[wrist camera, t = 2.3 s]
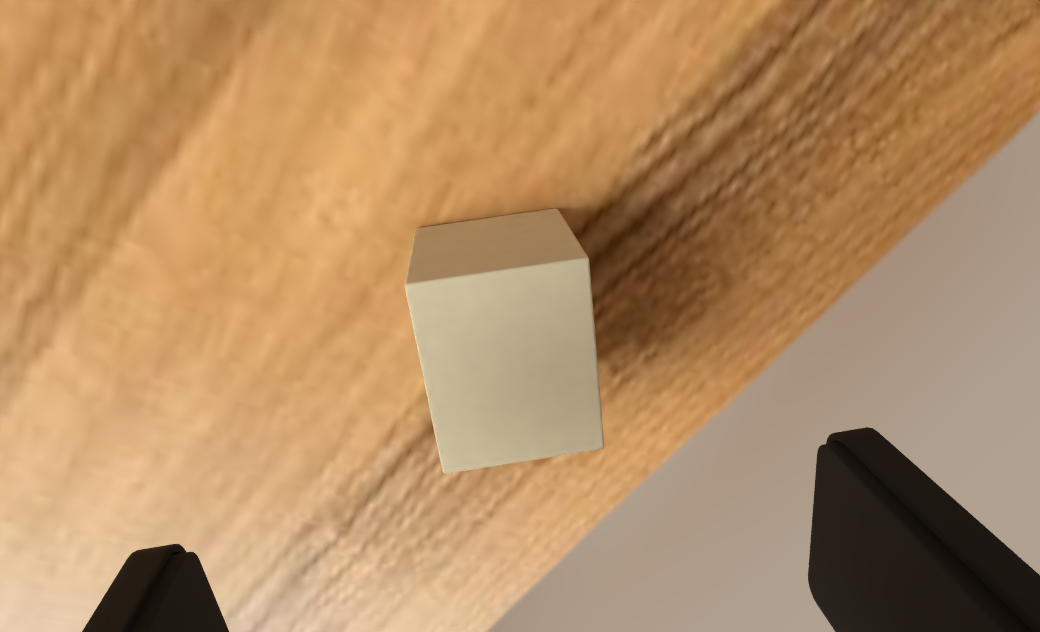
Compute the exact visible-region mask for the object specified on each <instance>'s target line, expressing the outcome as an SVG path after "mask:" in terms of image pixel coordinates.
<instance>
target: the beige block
mask: <svg viewBox="0 0 1040 632" xmlns="http://www.w3.org/2000/svg"><path fill="white" fill-rule="evenodd" d="M405 291H406V296H407V300H408V305H409V310H410V315H411V320H412V325H413V330H414V334H415V339H416V344H417V349H418V354H419V359H420V364H421V368H422V373H423V378H424V383H425V388H426V393H427V398H428V402H429V407H430V412H431V417H432V422H433V427H434V432H435V436H436V441H437V446H438V451H439V456H440V461H441V466H442V471H443V473H444V474H447V473H453V472H460V471H466V470H472V469H479V468H485V467H491V466H497V465H504V464H510V463H516V462H523V461H529V460H535V459H542V458H548V457H554V456H561V455H567V454H573V453H580V452H586V451H592V450H598V449H603V448H604V438H603V426H602V413H601V401H600V388H599V376H598V364H597V351H596V339H595V326H594V314H593V301H592V289H591V276H590V264H589V258H588V256H587V255H586V253H585V252H584V250H583V248H582V247H581V245H580V244H579V242H578V240H577V239H576V237H575V236H574V234H573V232H572V231H571V229H570V228H569V226H568V224H567V223H566V221H565V220H564V218H563V216H562V215H561V213H560V212H559V210H558V209H557V208H555V209H547V210H540V211H533V212H526V213H519V214H512V215H505V216H498V217H491V218H484V219H477V220H470V221H463V222H456V223H449V224H442V225H435V226H428V227H421V228H416V230H415V235H414V240H413V245H412V250H411V256H410V261H409V266H408V271H407V276H406V281H405Z"/></svg>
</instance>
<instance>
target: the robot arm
mask: <svg viewBox="0 0 1040 632" xmlns="http://www.w3.org/2000/svg"><path fill="white" fill-rule="evenodd" d="M809 558H810V559H809V571H808V581H809V587H810V590H811V592H812V595H813V598H814V600H815V601H816V603H817V605H818V606H819V608H820V609H821V611H822V612H823V614H824V615H825V617H826V618H827V619H828V621H829V623H830V624H831V626H832V627H833V629H834V630H835V632H1040V575H1039V574H1038V573H1036V572H1035V571H1034V570H1033V569H1032V568H1031V567H1030V566H1029V565H1027V564H1026V563H1025V562H1024V561H1023V560H1022V559H1021V558H1020V557H1018V556H1017V555H1016V554H1015V553H1014V552H1013V551H1012V550H1011V549H1009V548H1008V547H1007V546H1006V545H1005V544H1004V543H1003V542H1001V541H1000V540H999V539H998V538H997V537H996V536H995V535H994V534H992V533H991V532H990V531H989V530H988V529H987V528H986V527H985V526H983V525H982V524H981V523H980V522H979V521H978V520H977V519H976V518H974V517H973V516H972V515H971V514H970V513H969V512H968V511H967V510H965V509H964V508H963V507H962V506H961V505H960V504H959V503H957V502H956V501H955V500H954V499H953V498H952V497H951V496H950V495H948V494H947V493H946V492H945V491H944V490H943V489H942V488H941V487H939V486H938V485H937V484H936V483H935V482H934V481H933V480H931V479H930V478H929V477H928V476H927V475H926V474H925V473H924V472H923V471H921V470H920V469H919V468H918V467H917V466H916V465H914V464H913V463H912V462H911V461H910V460H909V459H908V458H907V457H905V456H904V455H903V454H902V453H901V452H900V451H899V450H898V449H896V448H895V447H894V446H893V445H892V444H891V443H890V442H889V441H888V440H886V439H885V438H884V437H883V436H882V435H880V433H878V432H877V431H876V430H874V429H873V428H868V427H867V428H861V429H855V430H849V431H844V432H837V433H833V434H831V435H830V436H829V437H828V439H827V443H826V444H825V445H821V446H820V447H819V449H818V454H817V464H816V478H815V491H814V505H813V517H812V531H811V544H810V557H809ZM82 632H229V630H228V628H227V625H226V623H225V621H224V618H223V616H222V613H221V611H220V609H219V606H218V604H217V601H216V599H215V596H214V594H213V592H212V589H211V587H210V584H209V582H208V580H207V577H206V575H205V572H204V570H203V567H202V565H201V563H200V560H199V558H198V556H197V555H196V554H195V553H194V552H187V553H186V551H185V549H184V548H183V547H182V546H181V545H180V544H172V545H166V546H160V547H154V548H148V549H142V550H137V551H135V552H133V553H132V554H131V555H130V556H129V557H128V559H127V560H126V562H125V563H124V565H123V567H122V568H121V570H120V571H119V573H118V575H117V576H116V578H115V580H114V581H113V583H112V584H111V586H110V588H109V589H108V591H107V592H106V594H105V596H104V597H103V599H102V601H101V602H100V604H99V605H98V607H97V609H96V610H95V612H94V613H93V615H92V617H91V618H90V620H89V622H88V623H87V625H86V626H85V628H84V630H83V631H82Z"/></svg>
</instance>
